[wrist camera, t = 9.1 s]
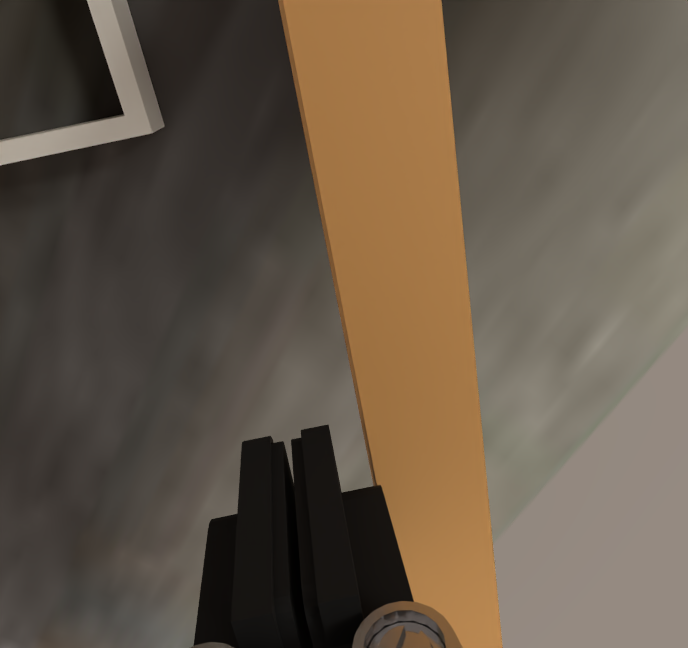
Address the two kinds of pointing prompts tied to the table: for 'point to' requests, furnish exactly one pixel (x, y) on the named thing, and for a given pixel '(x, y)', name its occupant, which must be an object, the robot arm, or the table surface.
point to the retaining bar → (402, 282)
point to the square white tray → (130, 86)
